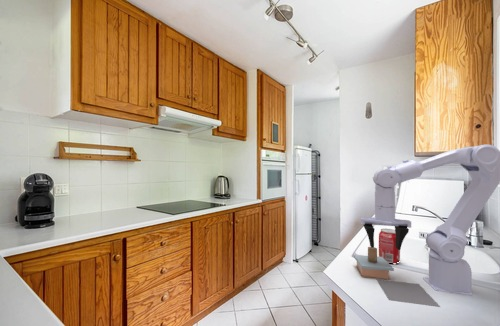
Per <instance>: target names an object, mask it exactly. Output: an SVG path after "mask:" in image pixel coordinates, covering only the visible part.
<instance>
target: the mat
mask: <svg viewBox="0 0 500 326" xmlns="http://www.w3.org/2000/svg"><path fill="white" fill-rule="evenodd" d="M375 279H376V281H377V283H378V285H379V287H380V288H381V290H382V292H383V293H384V294H385V296H386V298H387V300H388V301H392V302H401V303H407V304H414V305H422V306H429V307H437V308H441V306H440V305H439V304H438V302H436V300H435V299H434V298H433V297H432V296H431V295H430V294H429V293H428V292H427V290H426V289H424V288H423V287H422V286H421V285H420V283H414V282H413V283H412V282H405V281H397V280H390V279H382V278H375Z"/></svg>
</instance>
